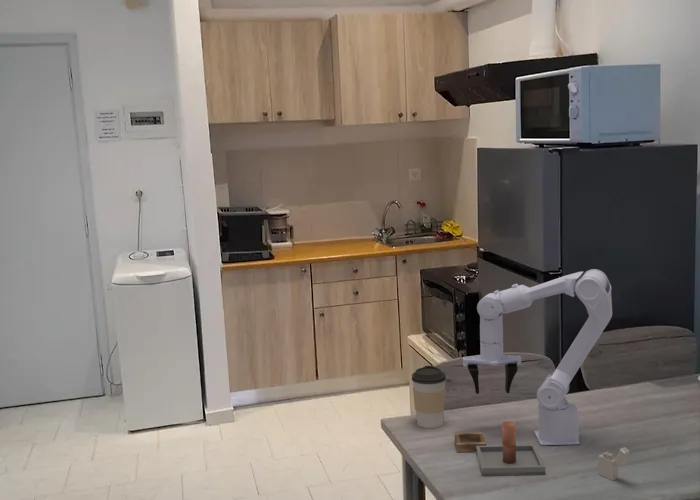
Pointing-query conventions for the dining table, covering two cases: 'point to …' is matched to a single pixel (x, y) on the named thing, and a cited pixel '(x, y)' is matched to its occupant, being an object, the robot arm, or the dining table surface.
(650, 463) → the dining table surface
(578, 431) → the robot arm
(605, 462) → the lighter
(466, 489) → the dining table surface
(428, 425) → the coffee cup
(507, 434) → the dowel
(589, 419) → the dining table surface
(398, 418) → the dining table surface
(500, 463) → the tray
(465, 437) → the collar
